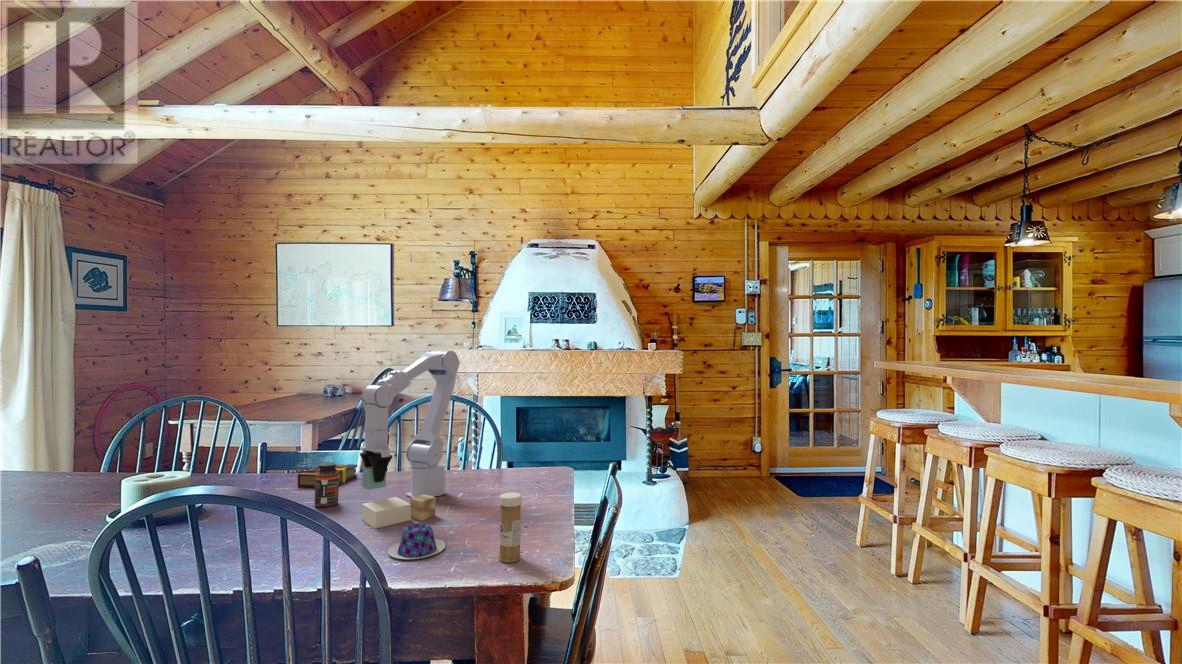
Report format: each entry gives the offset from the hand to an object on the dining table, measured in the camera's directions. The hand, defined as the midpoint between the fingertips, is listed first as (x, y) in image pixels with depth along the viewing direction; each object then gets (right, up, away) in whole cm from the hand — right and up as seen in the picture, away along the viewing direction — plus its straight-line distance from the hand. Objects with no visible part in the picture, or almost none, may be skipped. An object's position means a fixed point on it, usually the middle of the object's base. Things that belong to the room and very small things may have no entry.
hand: (375, 479), depth 137 cm
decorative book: (-28, -10, +30) cm, 42 cm away
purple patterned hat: (+20, -8, -26) cm, 34 cm away
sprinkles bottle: (+41, -8, -31) cm, 52 cm away
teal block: (0, -2, 0) cm, 2 cm away
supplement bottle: (-16, -9, +6) cm, 19 cm away
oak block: (+14, -9, -4) cm, 17 cm away
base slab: (+6, -8, -7) cm, 12 cm away
